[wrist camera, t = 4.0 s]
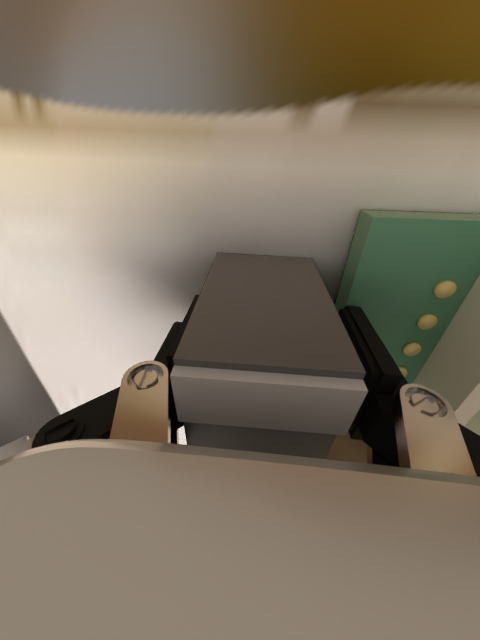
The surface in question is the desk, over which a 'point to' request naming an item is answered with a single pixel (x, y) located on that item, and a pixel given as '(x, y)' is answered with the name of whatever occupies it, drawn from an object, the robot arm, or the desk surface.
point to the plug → (266, 360)
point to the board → (422, 298)
